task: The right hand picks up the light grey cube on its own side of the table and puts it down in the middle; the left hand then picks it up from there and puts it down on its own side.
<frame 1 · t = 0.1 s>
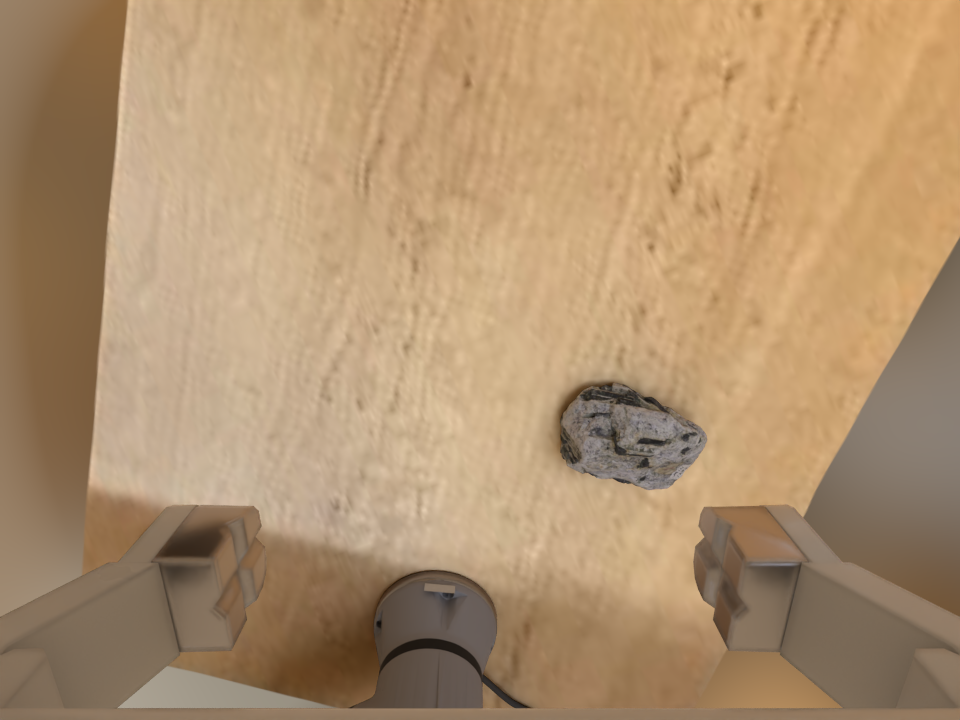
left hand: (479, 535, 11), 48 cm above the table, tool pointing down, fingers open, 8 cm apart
rock: (624, 429, 63), on the table
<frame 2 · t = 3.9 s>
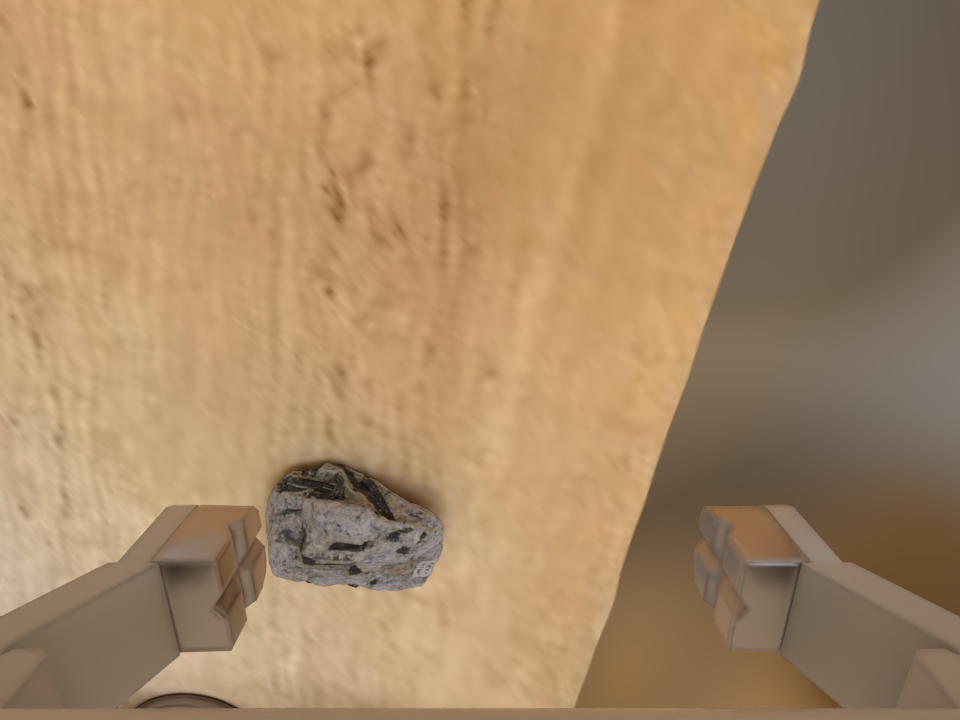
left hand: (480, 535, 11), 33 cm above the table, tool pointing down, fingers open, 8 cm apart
rock: (359, 516, 50), on the table
when the right hand's fingers open (0 cm above the table, at t = 6.6 s): light grey cube stays where it is, on the table.
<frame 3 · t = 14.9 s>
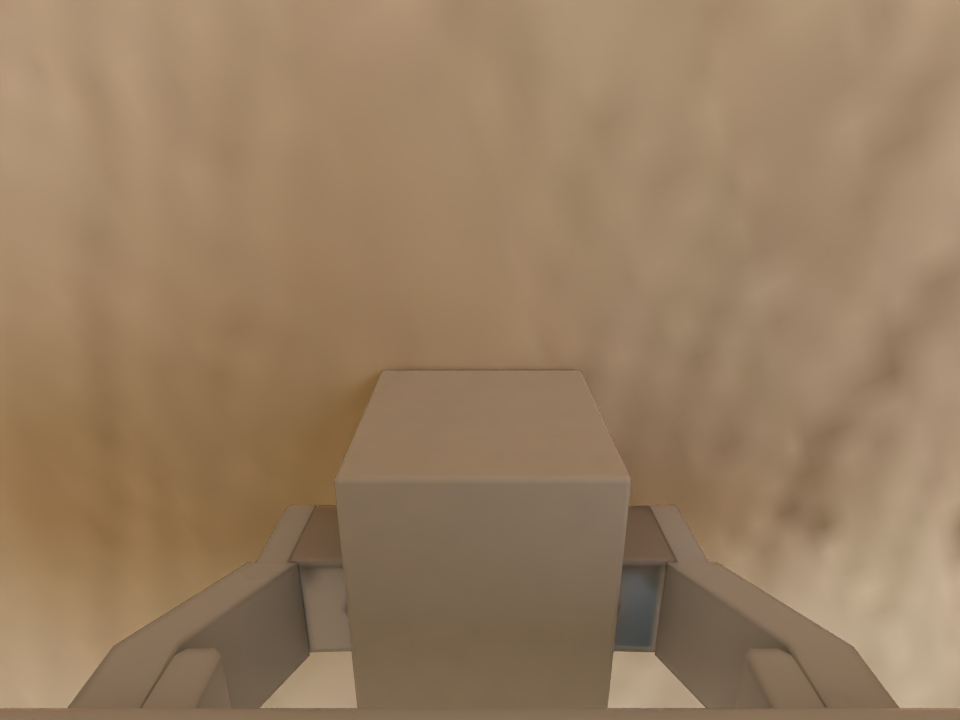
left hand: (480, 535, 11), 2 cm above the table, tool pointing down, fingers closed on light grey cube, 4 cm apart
light grey cube: (481, 468, 12), on the table, touching left hand
when the left hand's fingers open (3 cm above the table, at t = 23.3 s): light grey cube stays where it is, on the table.
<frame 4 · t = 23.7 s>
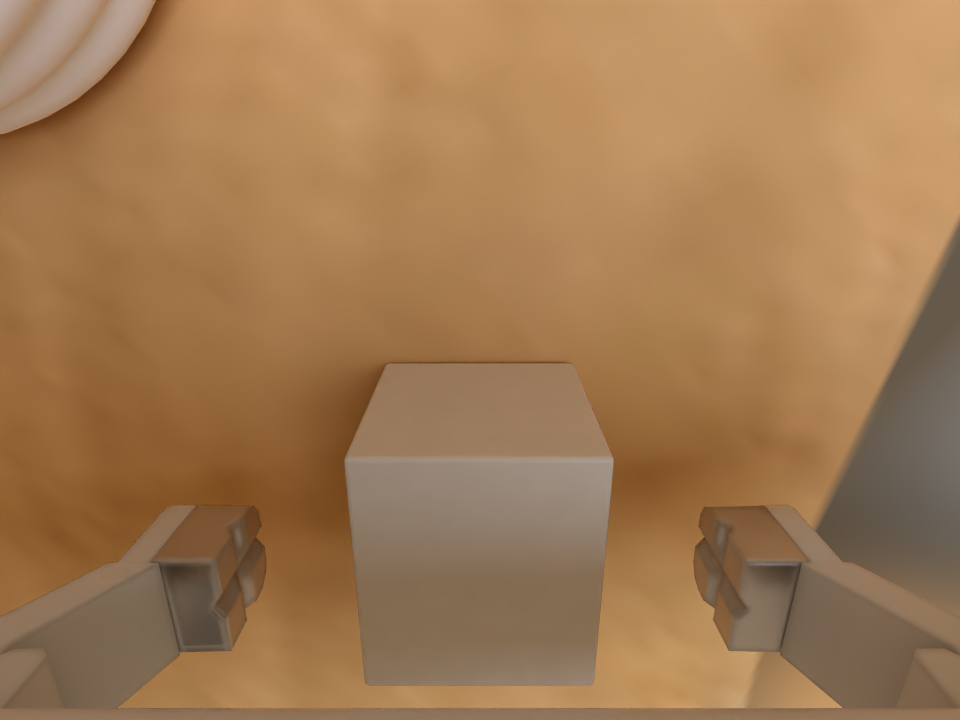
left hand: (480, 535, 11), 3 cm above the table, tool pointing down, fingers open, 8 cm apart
light grey cube: (479, 455, 13), on the table
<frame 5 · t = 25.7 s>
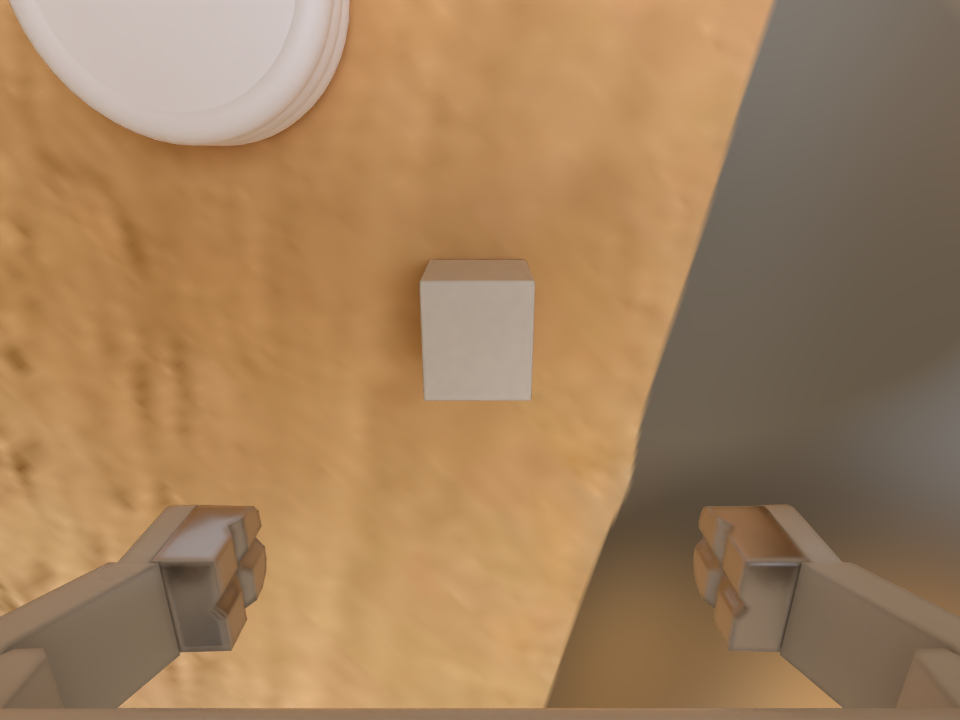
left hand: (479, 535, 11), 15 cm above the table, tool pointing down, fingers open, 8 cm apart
light grey cube: (477, 312, 24), on the table
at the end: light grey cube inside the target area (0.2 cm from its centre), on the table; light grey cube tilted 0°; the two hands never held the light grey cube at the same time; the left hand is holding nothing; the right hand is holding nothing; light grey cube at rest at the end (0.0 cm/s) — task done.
